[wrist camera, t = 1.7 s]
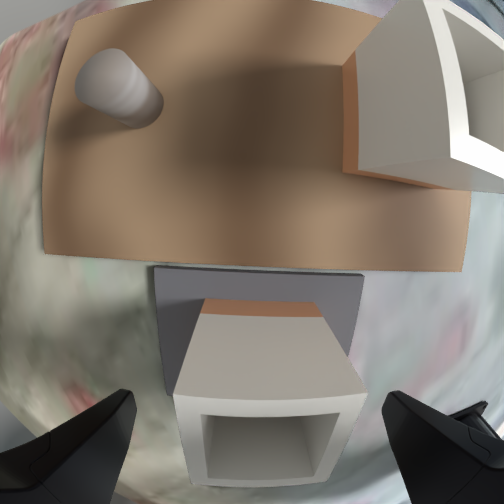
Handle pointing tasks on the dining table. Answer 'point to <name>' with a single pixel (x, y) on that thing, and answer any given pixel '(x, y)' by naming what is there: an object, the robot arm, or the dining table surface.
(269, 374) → the sleeve loose
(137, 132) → the pin board
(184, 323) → the mat
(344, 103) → the sleeve seated
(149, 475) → the dining table surface
